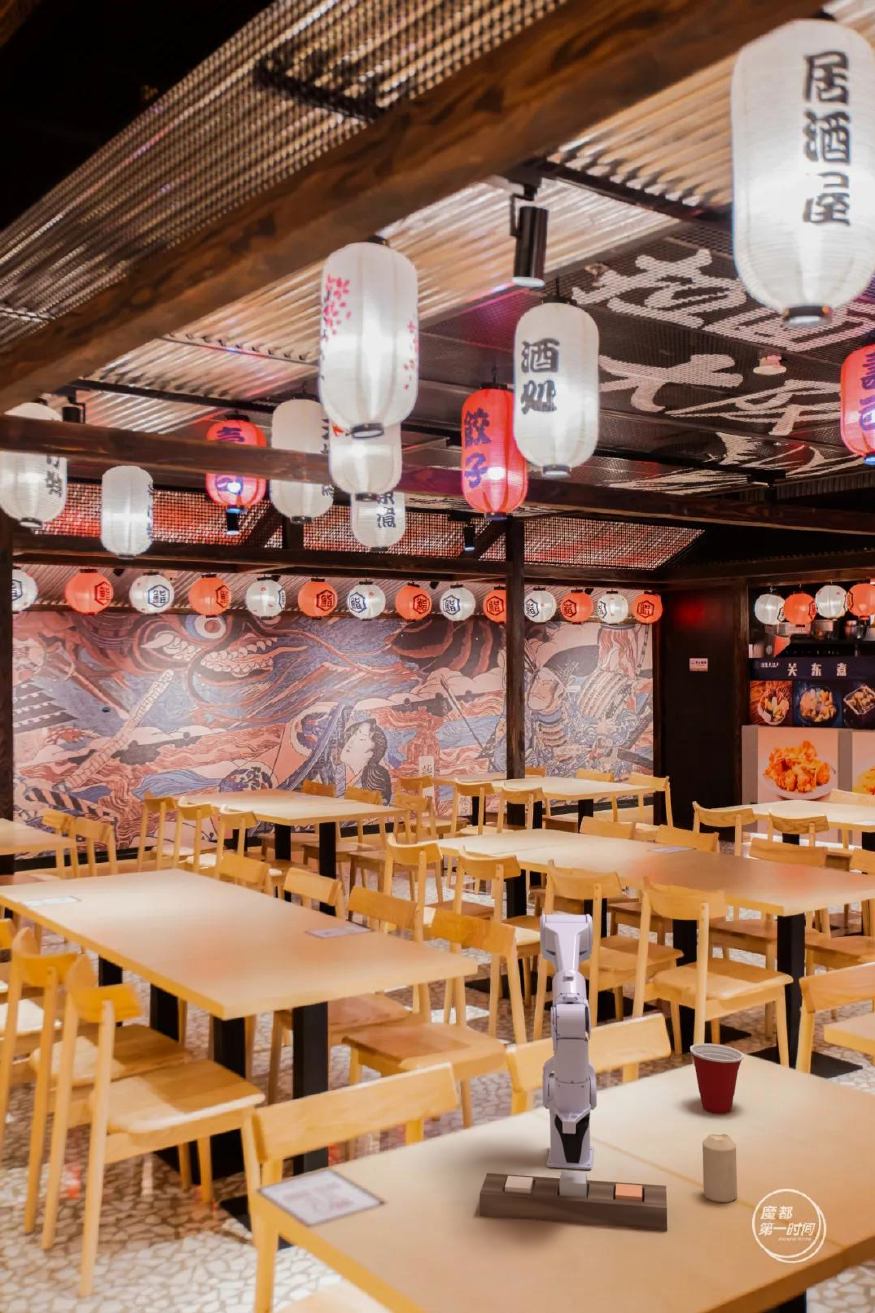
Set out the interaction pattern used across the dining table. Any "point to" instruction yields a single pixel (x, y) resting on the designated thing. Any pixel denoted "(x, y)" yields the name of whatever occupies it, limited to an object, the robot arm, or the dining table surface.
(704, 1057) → the plastic cup
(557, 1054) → the robot arm
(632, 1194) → the orange cube
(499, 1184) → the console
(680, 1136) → the dining table surface
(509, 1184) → the beige cube
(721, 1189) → the candle
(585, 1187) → the light gray cube
